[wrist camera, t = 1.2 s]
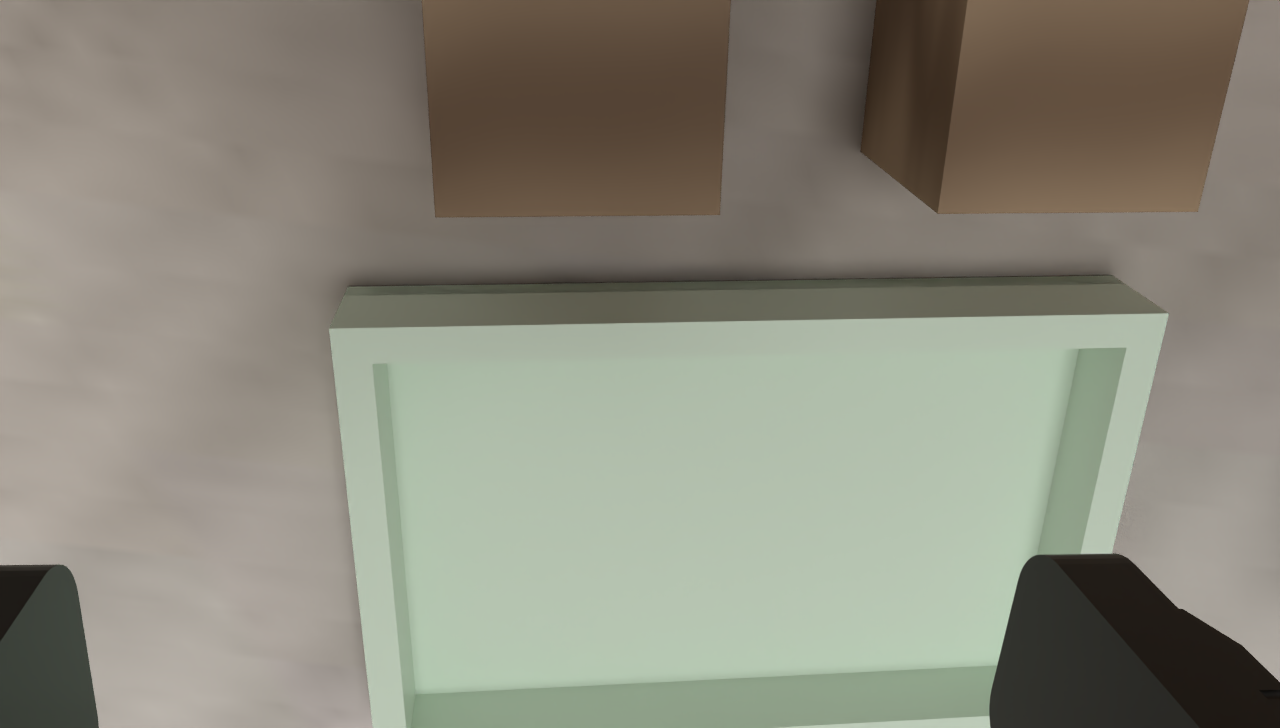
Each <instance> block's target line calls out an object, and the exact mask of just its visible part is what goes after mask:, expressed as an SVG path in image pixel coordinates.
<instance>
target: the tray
mask: <svg viewBox="0 0 1280 728" xmlns="http://www.w3.org/2000/svg"><path fill="white" fill-rule="evenodd" d="M1168 315H1169V313H1168V312H1166V311H1165V310H1163V309H1162V308H1160V307H1159V306H1157V305H1156V304H1154V303H1153V302H1151V301H1150V300H1148V299H1147V298H1145V297H1144V296H1142V295H1141V294H1139V293H1138V292H1136V291H1135V290H1133V289H1132V288H1130V287H1129V286H1127V285H1126V284H1124V283H1123V282H1121V281H1120V280H1118V279H1117V278H1115V277H1114V276H1112V275H1106V276H1038V277H969V278H901V279H833V280H765V281H697V282H628V283H560V284H492V285H424V286H355V287H348V288H347V290H346V292H345V295H344V297H343V299H342V301H341V303H340V306H339V308H338V310H337V312H336V314H335V317H334V319H333V321H332V323H331V325H330V328H329V333H330V342H331V352H332V361H333V370H334V379H335V388H336V397H337V406H338V415H339V425H340V434H341V443H342V452H343V461H344V470H345V479H346V488H347V498H348V507H349V516H350V525H351V534H352V543H353V552H354V562H355V571H356V580H357V589H358V598H359V607H360V616H361V625H362V635H363V644H364V653H365V662H366V671H367V680H368V689H369V698H370V708H371V717H372V726H373V728H991V727H990V717H989V704H990V695H991V689H992V685H993V681H994V677H995V673H996V669H997V665H998V661H999V656H1000V652H1001V648H1002V644H1003V640H1004V636H1005V632H1006V628H1007V623H1008V619H1009V615H1010V611H1011V607H1012V603H1013V599H1014V595H1015V591H1016V586H1017V582H1018V579H1019V576H1020V572H1021V570H1022V568H1023V566H1024V565H1025V563H1026V562H1027V561H1028V560H1029V559H1030V558H1031V557H1033V556H1035V555H1045V554H1112V550H1113V546H1114V542H1115V538H1116V533H1117V529H1118V525H1119V521H1120V517H1121V512H1122V508H1123V504H1124V500H1125V496H1126V491H1127V487H1128V483H1129V479H1130V475H1131V470H1132V466H1133V462H1134V458H1135V454H1136V449H1137V445H1138V441H1139V437H1140V433H1141V428H1142V424H1143V420H1144V416H1145V412H1146V408H1147V403H1148V399H1149V395H1150V391H1151V387H1152V382H1153V378H1154V374H1155V370H1156V366H1157V361H1158V357H1159V353H1160V349H1161V345H1162V340H1163V336H1164V332H1165V328H1166V324H1167V319H1168Z"/></svg>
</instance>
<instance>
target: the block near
mask: <svg viewBox="0 0 1280 728" xmlns="http://www.w3.org/2000/svg"><path fill="white" fill-rule="evenodd" d="M730 4H731V0H422V11H423V28H424V44H425V60H426V76H427V92H428V108H429V125H430V141H431V157H432V173H433V189H434V205H435V217H542V216H659V215H720V201H721V181H722V161H723V142H724V122H725V102H726V83H727V63H728V43H729V24H730Z"/></svg>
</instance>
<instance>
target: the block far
mask: <svg viewBox="0 0 1280 728" xmlns="http://www.w3.org/2000/svg"><path fill="white" fill-rule="evenodd" d="M1248 3H1249V0H877V1H876V10H875V19H874V29H873V38H872V48H871V57H870V67H869V76H868V86H867V95H866V104H865V114H864V123H863V133H862V142H861V152H862V153H863V154H864V155H865V156H867V157H868V158H869V159H870V160H872V161H873V162H874V163H875V164H877V165H878V166H879V167H880V168H882V169H883V170H884V171H885V172H887V173H888V174H889V175H890V176H891V177H893V178H894V179H895V180H896V181H898V182H899V183H900V184H901V185H903V186H904V187H905V188H906V189H908V190H909V191H910V192H911V193H913V194H914V195H915V196H916V197H918V198H919V199H920V200H921V201H923V202H924V203H925V204H926V205H927V206H929V207H930V208H931V209H932V210H934V211H935V212H936V213H937V214H969V213H1101V212H1198V208H1199V204H1200V200H1201V196H1202V192H1203V188H1204V184H1205V180H1206V176H1207V172H1208V167H1209V163H1210V159H1211V155H1212V151H1213V147H1214V143H1215V139H1216V135H1217V130H1218V126H1219V122H1220V118H1221V114H1222V110H1223V106H1224V102H1225V98H1226V94H1227V89H1228V85H1229V81H1230V77H1231V73H1232V69H1233V65H1234V61H1235V57H1236V53H1237V48H1238V44H1239V40H1240V36H1241V32H1242V28H1243V24H1244V20H1245V16H1246V11H1247V7H1248Z"/></svg>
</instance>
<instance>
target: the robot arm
mask: <svg viewBox="0 0 1280 728" xmlns="http://www.w3.org/2000/svg"><path fill="white" fill-rule="evenodd" d="M989 717H990V727H991V728H1280V682H1279V681H1278V680H1277V679H1276V678H1275V677H1274V676H1273V675H1272V674H1271V673H1270V672H1269V671H1268V670H1266V669H1265V668H1264V667H1263V666H1262V665H1261V664H1260V663H1259V662H1258V661H1257V660H1256V659H1255V658H1254V657H1253V656H1252V655H1251V654H1250V653H1249V652H1248V651H1247V650H1246V649H1245V648H1244V647H1243V646H1242V645H1240V644H1239V643H1237V642H1235V641H1234V640H1232V639H1230V638H1229V637H1227V636H1226V635H1224V634H1222V633H1221V632H1219V631H1217V630H1216V629H1214V628H1213V627H1211V626H1209V625H1208V624H1206V623H1204V622H1203V621H1201V620H1200V619H1198V618H1196V617H1195V616H1193V615H1191V614H1190V613H1188V612H1187V611H1185V610H1183V609H1178V608H1177V607H1176V606H1175V605H1174V604H1173V603H1172V602H1171V601H1170V600H1169V599H1168V598H1167V597H1166V596H1165V595H1164V594H1163V593H1162V592H1161V591H1160V590H1159V589H1158V588H1157V587H1156V586H1155V585H1154V584H1153V583H1152V582H1151V581H1150V579H1149V578H1148V577H1147V576H1146V575H1145V574H1144V573H1143V572H1142V571H1141V570H1140V569H1139V568H1138V567H1137V566H1136V565H1135V564H1134V563H1133V562H1131V561H1130V560H1129V559H1128V558H1126V557H1124V556H1122V555H1119V554H1045V555H1035V556H1033V557H1031V558H1030V559H1029V560H1028V561H1027V562H1026V563H1025V565H1024V566H1023V568H1022V570H1021V572H1020V576H1019V579H1018V582H1017V586H1016V591H1015V595H1014V599H1013V603H1012V607H1011V611H1010V615H1009V619H1008V623H1007V628H1006V632H1005V636H1004V640H1003V644H1002V648H1001V652H1000V656H999V661H998V665H997V669H996V673H995V677H994V681H993V685H992V689H991V695H990V704H989ZM0 728H99V727H98V716H97V710H96V703H95V697H94V691H93V684H92V678H91V672H90V666H89V659H88V653H87V647H86V640H85V634H84V628H83V622H82V615H81V609H80V603H79V597H78V591H77V586H76V583H75V580H74V577H73V575H72V573H71V571H70V570H69V569H68V568H67V567H66V566H64V565H0Z"/></svg>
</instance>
